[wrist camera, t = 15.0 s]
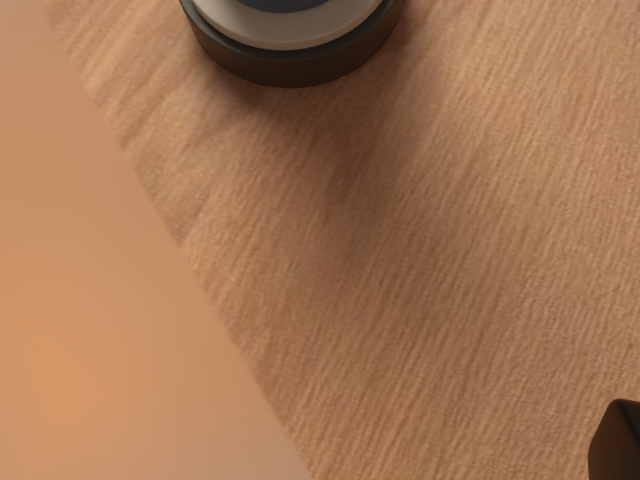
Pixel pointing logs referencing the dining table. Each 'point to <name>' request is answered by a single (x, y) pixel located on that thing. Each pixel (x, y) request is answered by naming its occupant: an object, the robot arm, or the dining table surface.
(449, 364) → the dining table surface
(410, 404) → the dining table surface
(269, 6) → the cup
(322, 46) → the beige and brown disc
